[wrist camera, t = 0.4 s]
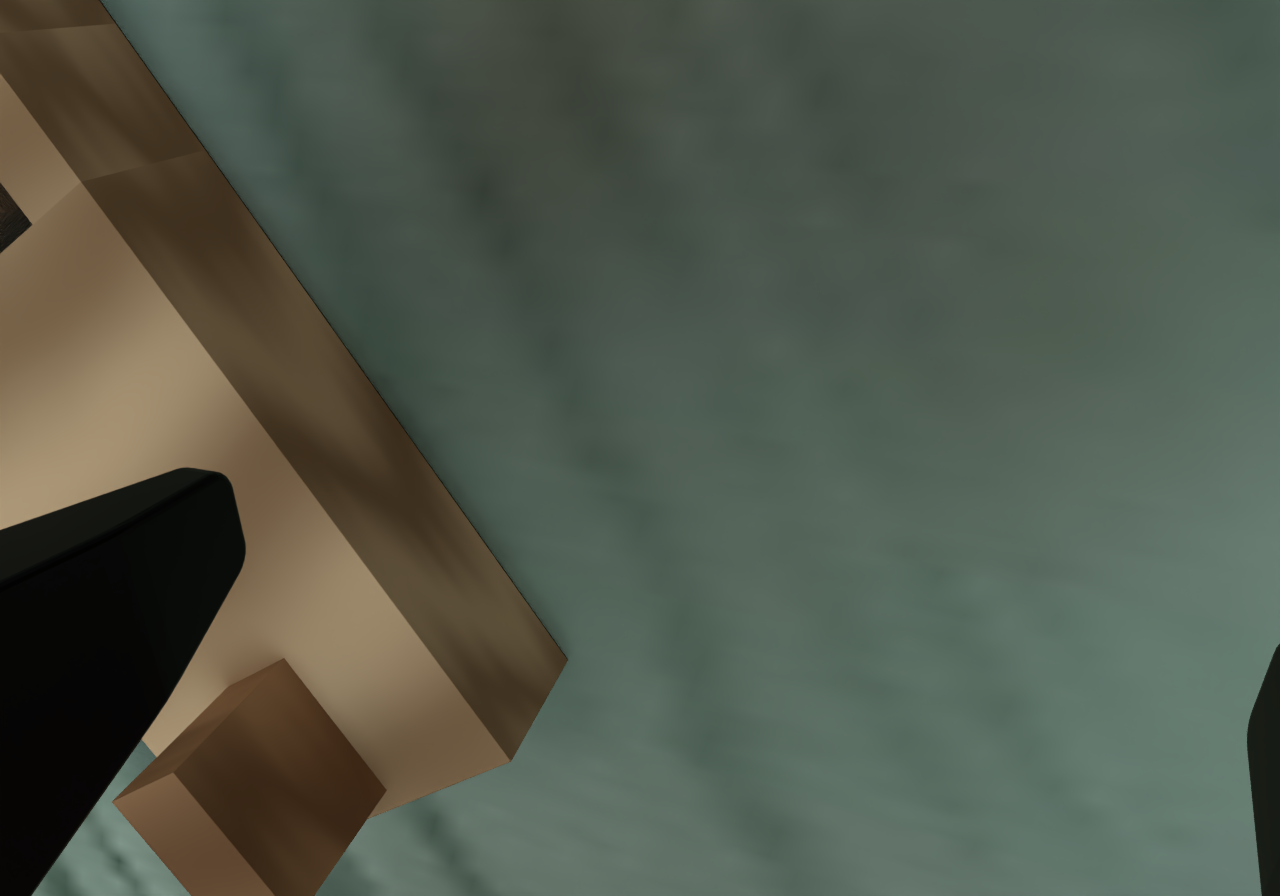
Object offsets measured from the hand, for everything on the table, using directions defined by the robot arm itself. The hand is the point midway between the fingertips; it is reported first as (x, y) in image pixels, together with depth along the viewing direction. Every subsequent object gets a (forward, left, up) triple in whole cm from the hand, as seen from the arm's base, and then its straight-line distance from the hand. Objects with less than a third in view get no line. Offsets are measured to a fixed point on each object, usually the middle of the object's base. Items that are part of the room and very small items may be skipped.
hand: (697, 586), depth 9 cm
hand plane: (-8, +15, -14) cm, 22 cm away
